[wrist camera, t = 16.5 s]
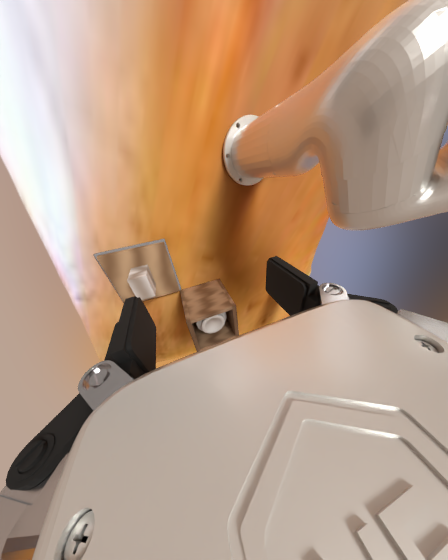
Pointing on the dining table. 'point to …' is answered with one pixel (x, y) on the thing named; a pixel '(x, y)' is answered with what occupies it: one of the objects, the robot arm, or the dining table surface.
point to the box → (209, 312)
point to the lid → (140, 271)
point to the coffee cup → (212, 323)
